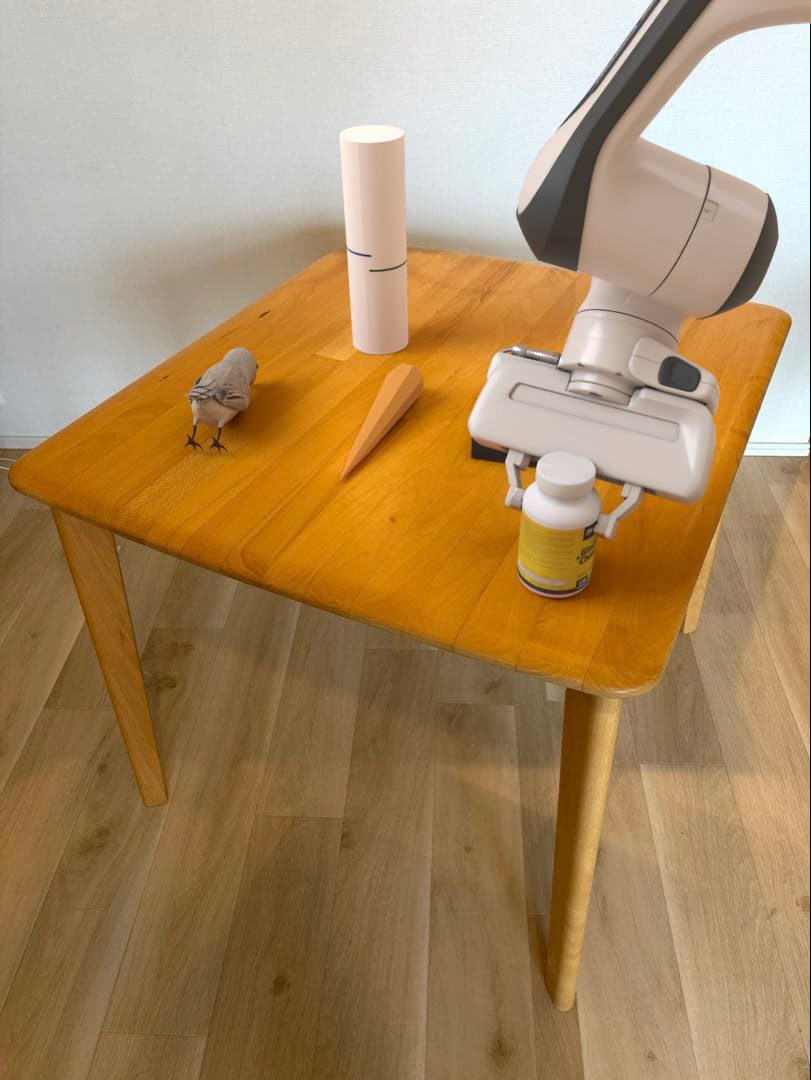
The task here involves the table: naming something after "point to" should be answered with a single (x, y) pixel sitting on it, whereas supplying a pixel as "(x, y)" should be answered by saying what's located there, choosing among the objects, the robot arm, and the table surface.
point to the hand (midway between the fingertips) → (557, 523)
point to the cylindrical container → (376, 236)
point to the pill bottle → (559, 526)
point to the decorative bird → (222, 392)
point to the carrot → (386, 410)
